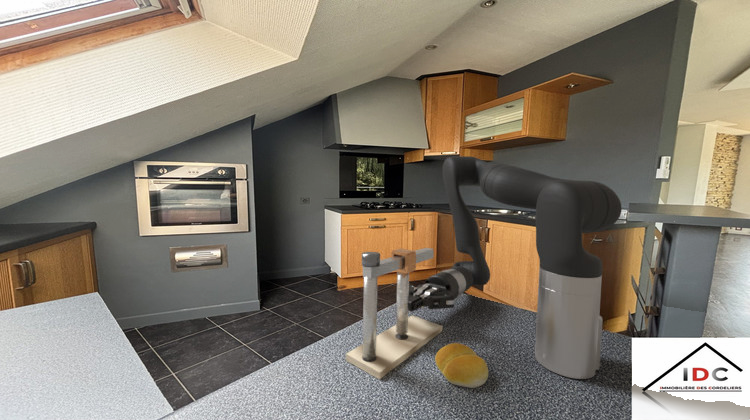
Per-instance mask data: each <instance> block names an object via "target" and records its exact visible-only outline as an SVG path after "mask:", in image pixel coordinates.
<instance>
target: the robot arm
mask: <svg viewBox="0 0 750 420" xmlns="http://www.w3.org/2000/svg"><path fill="white" fill-rule="evenodd" d="M442 180H443V183H444V188H445V193H446V196H447V200H448V204H449V209H450V212H451V215H452V221H453V227H454V229H453V230H454V237H455V248H456V251H457V252H458V253H460V254H466V255H469V256H470V257H471V259H472V260H464V261H463V260H461V261H457V262H455V263H454V264H453V265H452V266H451V268H449V269H444V270H441V271H440V272H437V273H435V274H433V275H430V276H429V277H428V278H427V279H426V280H425V282H424V283H423V284H419V285H417V287H415V286H414V285H412V284H411V283H409V302H408V312H414V311H416V310H419V309H421V308H422V309H424V308H426V307H427V308H428V309H429V310H442V309H452V308H455V300H456V299H458V298H459V297H460V296H461V295H462V294H463V293H465V292H466V291H468V290H469V289H470V288H471V287H472V286H484V285H487V284H488V283H489V281H490V278H491V272H490V267H489V266H488V262H487V260H486V258H485V254H484V252H483V250H482V246H481V242H480V241H481V240H480V239H481V238H480V230H479V225H478V222H477V219H476V217H475V216H474V214H473V212H472V211H471V210H470V209H469V207H468V205H467V204H466V202H465V201H464V199H463V197H462V195H461V191H460V187H467V186H470V187H472V186H474V187H475V186H476V187H480V190H481V191H482V193H483V195H485V196H486V197H488V198H489V199H491V200H493V201H495V202H498V203H500V204H503V205H507V206H510V207H516V208H521V209H522V208H523V209H530V210H535V247H536V252H537V255H538V258H539V259H538V260H539V267H538V270H539V271H538V288H537V304H536V306H537V307H536V308H537V309H536V324H535V325H536V326H535V327H536V328H535V343H534V344H535V346H534V359H535V360H536V362H538V363H539V364H540V365H541V366H542V367H544V368H545V369H546V370H549V371H551V372H553V373H555V374H558V375H560V376H563V377H566V378H571V379H577V380H578V379H579V380H587V379H591V378H593V377H594V376H595V375H596V371H597V370H599V371H600V364H601V348H602V347H601V346H602V334H603V333H602V332H603V320H604V319H603V317H602V316H601V315H600V309H601V296H602V278H603V261H602V259H601V258H600V257H599V256H597V255H594V254H593V253H590V252H588V251H587V250H586V249H585V248H584V246H583V233H585V234H588V233H589V234H590V233H596V232H600V231H604V230H606V229H608V228H610V227H612V226H614V224H616V222H617V221H618V220H619V218H621V214H622V209H623V207H622V203H621V200H620V198H619V196H618V195H617V193H616V192H615V191H614V190H613V188H610V187H609V186H608V185H605V184H604V183H601V182H599V181H598V182H597V181H593V180H574V179H566V178H565V179H563V178H557V177H553V176H550V175H547V174H543V173H541V172H536V171H533V170H530V169H526V168H523V167H519V166H514V165H510V164H504V163H498V162H497V163H495V162H494V163H489V162H487V161H485V160H482V159H480V158H479V157H474V156H470V155H469V156H466V155H465V156H456V155H455V156H449V157H446V158H445V160H444V161H443V165H442Z"/></svg>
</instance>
